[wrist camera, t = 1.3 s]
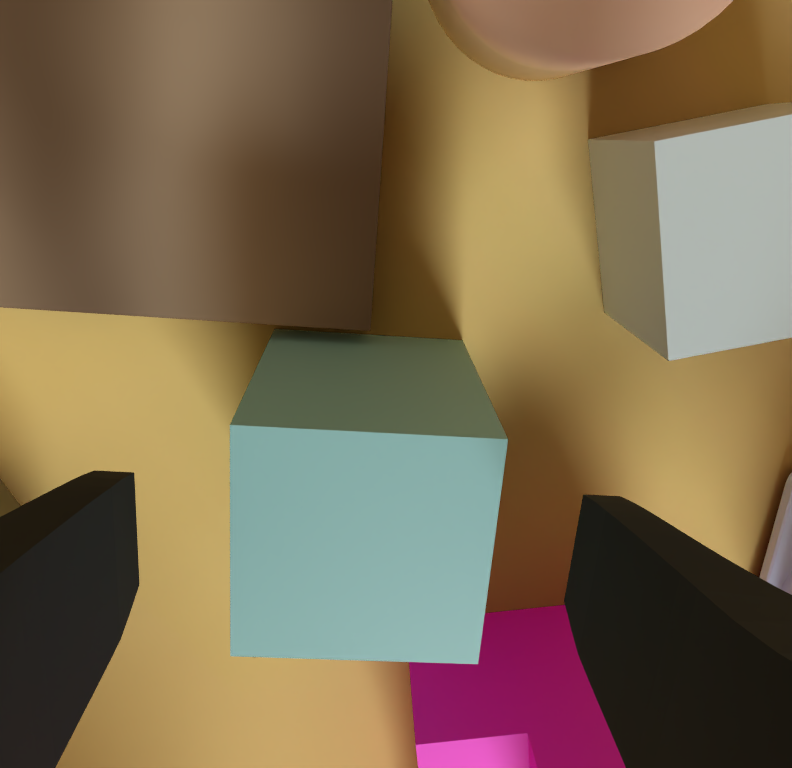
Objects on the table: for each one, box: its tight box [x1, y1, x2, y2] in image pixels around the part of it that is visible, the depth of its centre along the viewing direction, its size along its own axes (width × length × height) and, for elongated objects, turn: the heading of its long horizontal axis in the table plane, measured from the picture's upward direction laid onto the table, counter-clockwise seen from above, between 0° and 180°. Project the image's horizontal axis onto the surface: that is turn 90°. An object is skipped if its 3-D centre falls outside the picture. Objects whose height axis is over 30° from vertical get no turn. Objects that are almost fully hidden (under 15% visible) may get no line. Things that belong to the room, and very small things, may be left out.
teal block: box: [230, 329, 508, 664], centre depth 15 cm, size 4×4×6 cm
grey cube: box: [588, 102, 792, 361], centre depth 15 cm, size 4×4×4 cm
